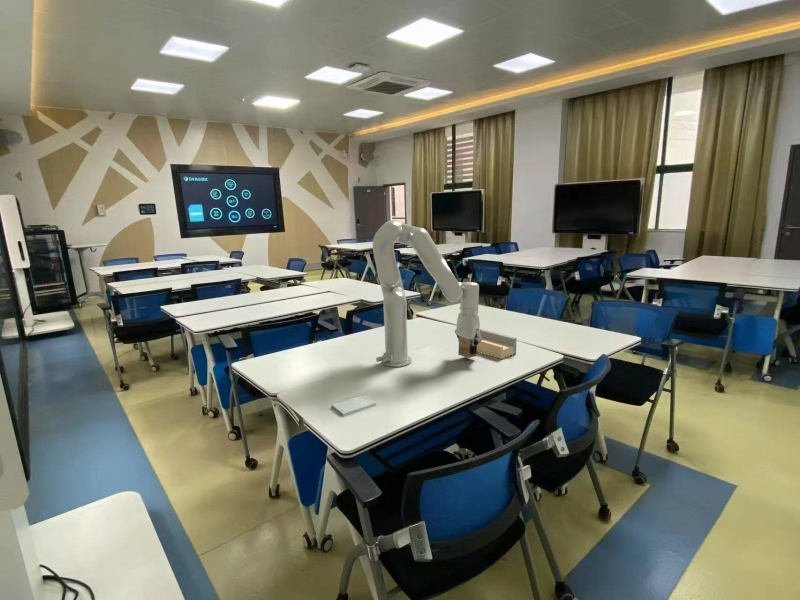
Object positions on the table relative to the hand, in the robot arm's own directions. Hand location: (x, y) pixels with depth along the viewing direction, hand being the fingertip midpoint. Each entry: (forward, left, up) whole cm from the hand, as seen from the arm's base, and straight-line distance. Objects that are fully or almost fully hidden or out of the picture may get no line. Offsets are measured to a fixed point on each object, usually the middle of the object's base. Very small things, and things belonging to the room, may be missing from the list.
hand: (467, 351), depth 176 cm
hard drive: (-61, -8, -4) cm, 62 cm away
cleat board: (+16, +1, -3) cm, 16 cm away
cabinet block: (0, 0, -2) cm, 2 cm away
